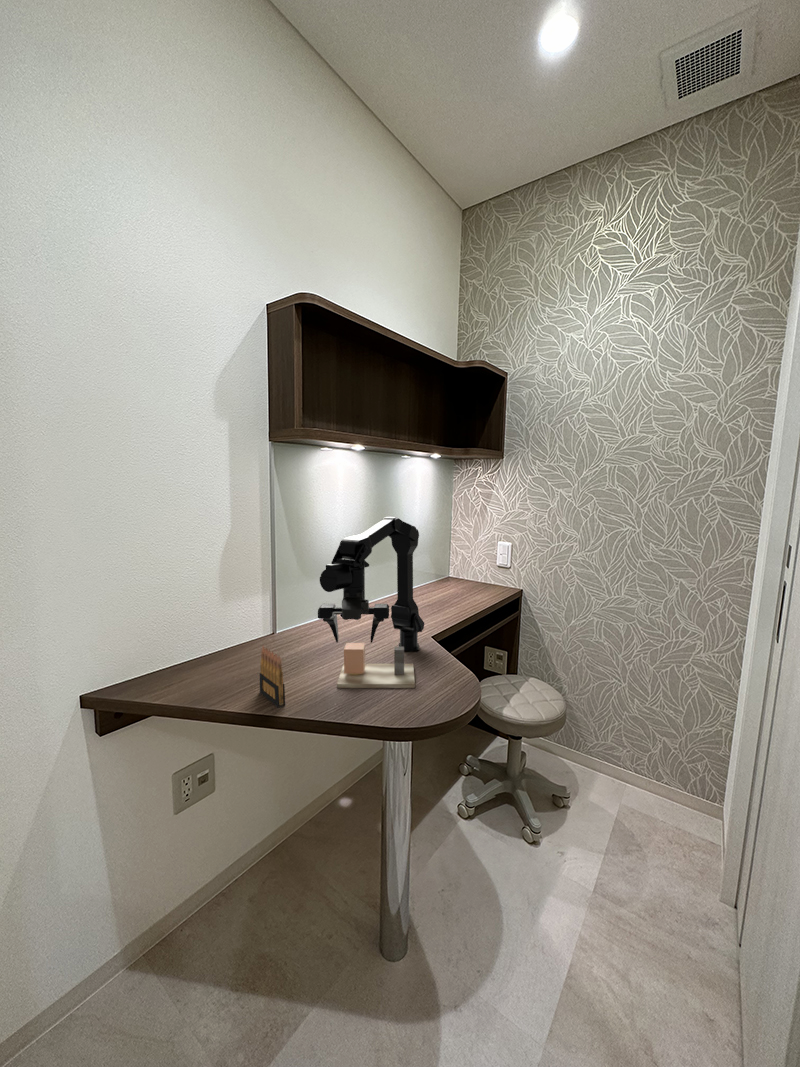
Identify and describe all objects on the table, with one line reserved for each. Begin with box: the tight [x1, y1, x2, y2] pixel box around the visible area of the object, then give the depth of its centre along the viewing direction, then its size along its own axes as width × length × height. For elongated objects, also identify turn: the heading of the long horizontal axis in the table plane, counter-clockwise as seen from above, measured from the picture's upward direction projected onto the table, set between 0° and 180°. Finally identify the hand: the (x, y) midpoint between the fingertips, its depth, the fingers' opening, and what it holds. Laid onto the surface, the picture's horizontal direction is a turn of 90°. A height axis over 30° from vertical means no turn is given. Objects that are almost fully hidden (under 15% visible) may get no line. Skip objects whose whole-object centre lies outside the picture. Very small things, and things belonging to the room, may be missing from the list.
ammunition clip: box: [259, 645, 286, 708], centre depth 111 cm, size 11×2×12 cm, turn 40°
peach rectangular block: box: [343, 642, 366, 674], centre depth 124 cm, size 5×5×7 cm
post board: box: [336, 646, 416, 689], centre depth 124 cm, size 14×20×8 cm
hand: (354, 642), depth 123 cm, fingers open, 9 cm apart
